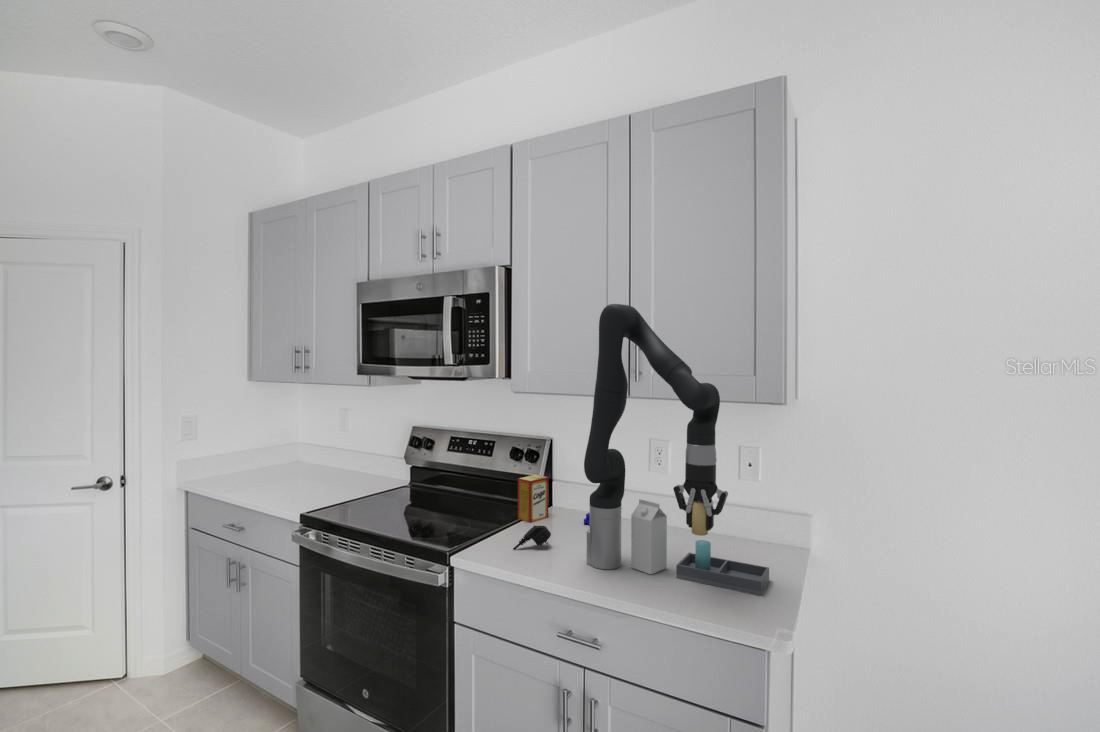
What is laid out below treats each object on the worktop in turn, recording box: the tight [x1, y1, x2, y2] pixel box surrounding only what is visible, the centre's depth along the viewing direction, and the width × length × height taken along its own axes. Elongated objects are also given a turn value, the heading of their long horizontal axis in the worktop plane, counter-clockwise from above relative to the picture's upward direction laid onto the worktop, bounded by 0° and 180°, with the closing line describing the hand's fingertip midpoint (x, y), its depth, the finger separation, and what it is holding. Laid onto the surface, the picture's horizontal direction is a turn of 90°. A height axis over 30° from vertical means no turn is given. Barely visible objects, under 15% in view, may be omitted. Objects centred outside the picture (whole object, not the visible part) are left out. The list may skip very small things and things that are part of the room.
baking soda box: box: [517, 474, 549, 524], centre depth 203 cm, size 10×6×16 cm
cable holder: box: [583, 512, 590, 527], centre depth 195 cm, size 8×4×4 cm, turn 56°
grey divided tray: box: [675, 552, 770, 597], centre depth 147 cm, size 22×11×4 cm, turn 59°
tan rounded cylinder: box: [691, 501, 709, 537], centre depth 139 cm, size 4×4×8 cm
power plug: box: [512, 525, 552, 551], centre depth 171 cm, size 6×8×12 cm
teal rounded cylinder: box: [694, 539, 712, 571], centre depth 150 cm, size 4×4×8 cm
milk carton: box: [630, 499, 668, 575], centre depth 155 cm, size 7×7×19 cm
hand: (699, 528), depth 139 cm, fingers closed on tan rounded cylinder, 4 cm apart
